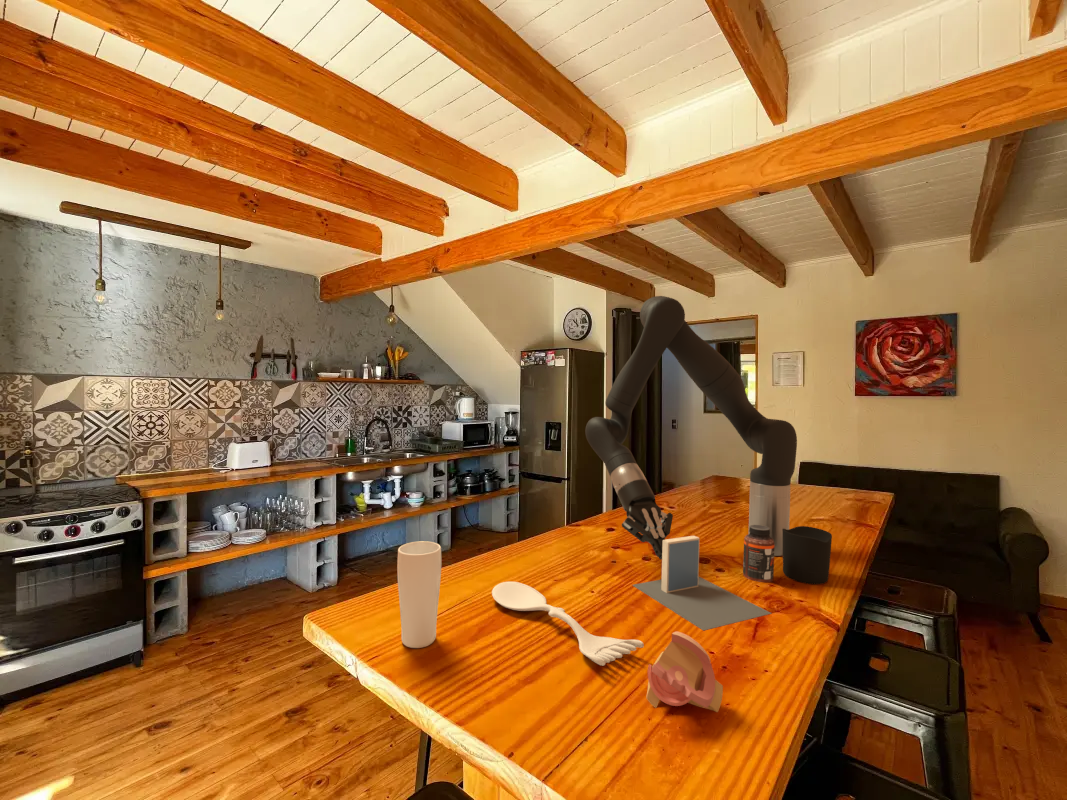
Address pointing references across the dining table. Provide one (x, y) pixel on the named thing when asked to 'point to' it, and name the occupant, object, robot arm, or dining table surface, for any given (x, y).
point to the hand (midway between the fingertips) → (665, 557)
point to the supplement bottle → (758, 554)
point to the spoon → (589, 645)
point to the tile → (680, 563)
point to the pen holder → (806, 554)
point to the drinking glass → (419, 591)
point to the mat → (704, 604)
